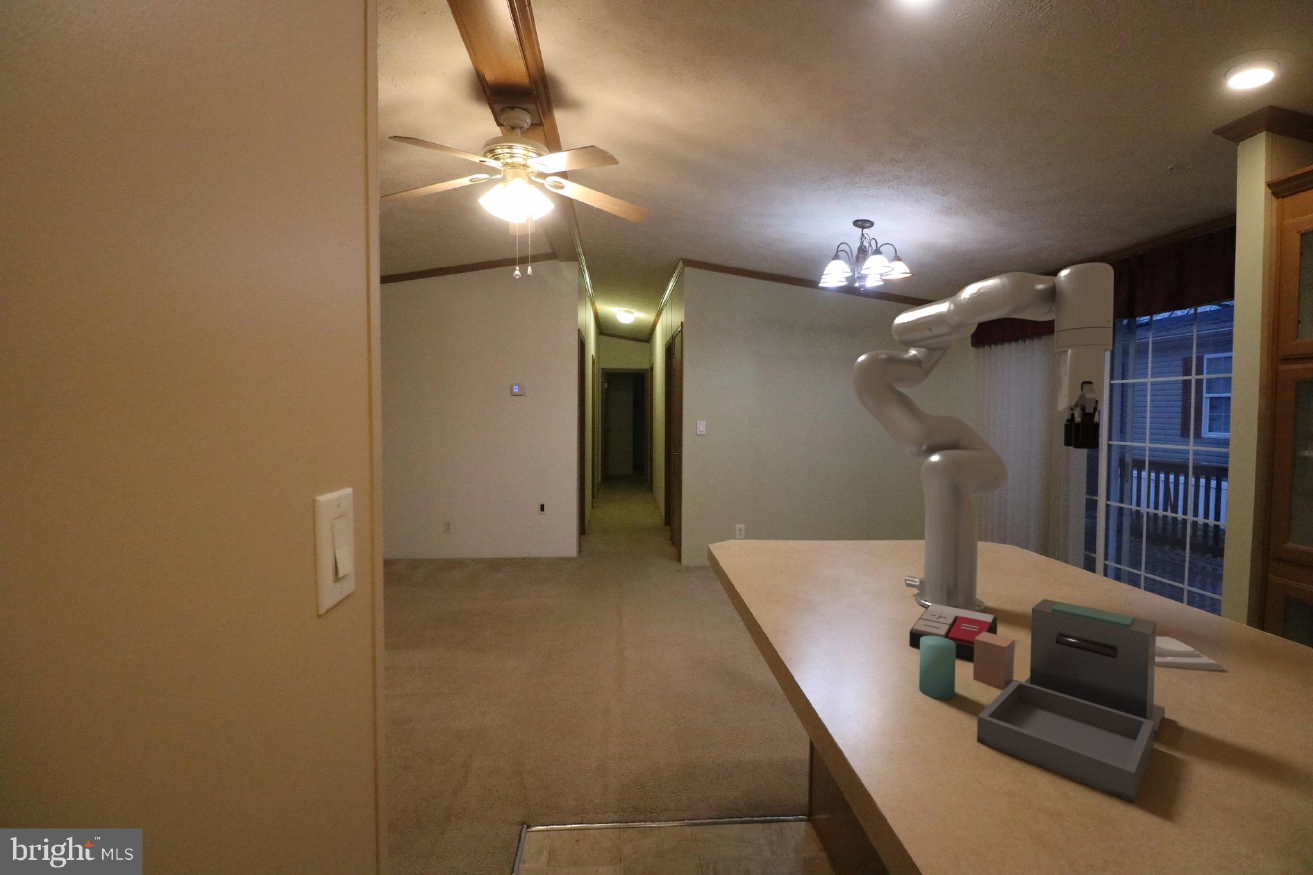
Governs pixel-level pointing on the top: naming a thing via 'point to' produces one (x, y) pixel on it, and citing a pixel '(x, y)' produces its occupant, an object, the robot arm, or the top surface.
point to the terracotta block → (993, 659)
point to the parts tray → (1069, 737)
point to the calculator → (953, 627)
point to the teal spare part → (937, 667)
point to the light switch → (1181, 655)
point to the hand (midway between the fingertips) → (1080, 447)
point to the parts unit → (1095, 657)
